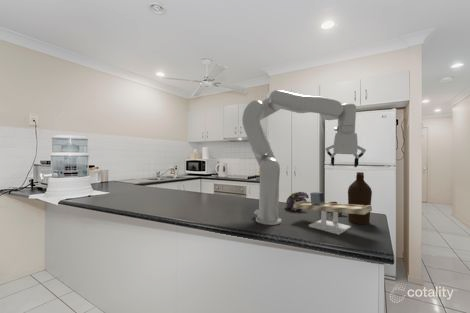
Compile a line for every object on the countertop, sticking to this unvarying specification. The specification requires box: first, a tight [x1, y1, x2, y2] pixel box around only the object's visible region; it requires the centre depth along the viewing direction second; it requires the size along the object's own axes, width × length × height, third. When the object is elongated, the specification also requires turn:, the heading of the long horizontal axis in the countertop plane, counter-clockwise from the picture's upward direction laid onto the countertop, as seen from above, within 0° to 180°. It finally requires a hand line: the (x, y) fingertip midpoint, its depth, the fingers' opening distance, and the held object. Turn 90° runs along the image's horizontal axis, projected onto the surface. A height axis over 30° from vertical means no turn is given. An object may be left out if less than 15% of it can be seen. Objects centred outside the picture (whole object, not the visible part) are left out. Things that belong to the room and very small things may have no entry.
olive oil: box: [347, 171, 373, 226], centre depth 116 cm, size 11×11×25 cm
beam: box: [294, 200, 373, 215], centre depth 106 cm, size 32×11×3 cm, turn 44°
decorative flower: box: [285, 191, 309, 213], centre depth 139 cm, size 15×12×15 cm
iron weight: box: [310, 191, 325, 206], centre depth 111 cm, size 4×4×6 cm
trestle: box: [308, 211, 352, 235], centre depth 106 cm, size 14×13×8 cm
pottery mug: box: [327, 201, 343, 217], centre depth 130 cm, size 12×10×8 cm
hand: (344, 166), depth 109 cm, fingers open, 9 cm apart
